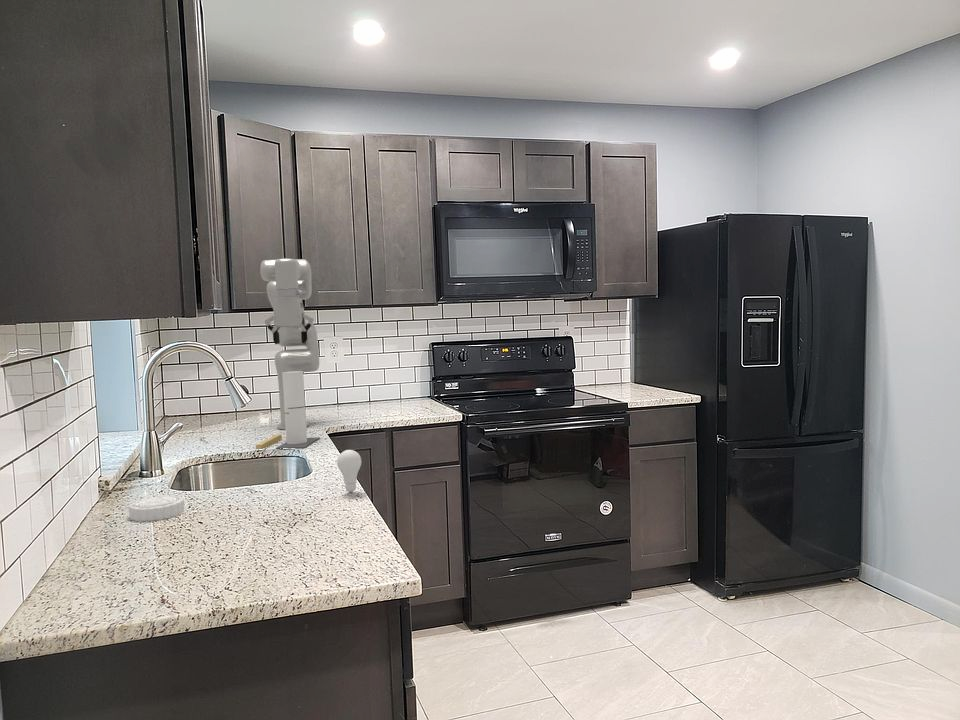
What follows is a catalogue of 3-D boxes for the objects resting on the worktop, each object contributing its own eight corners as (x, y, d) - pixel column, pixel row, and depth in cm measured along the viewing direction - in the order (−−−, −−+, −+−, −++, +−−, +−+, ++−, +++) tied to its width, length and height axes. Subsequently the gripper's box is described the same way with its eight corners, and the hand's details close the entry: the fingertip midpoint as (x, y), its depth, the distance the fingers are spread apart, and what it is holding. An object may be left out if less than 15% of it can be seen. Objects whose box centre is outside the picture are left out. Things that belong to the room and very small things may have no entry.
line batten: (276, 439, 268) (276, 434, 268) (281, 439, 268) (281, 434, 268) (256, 450, 248) (255, 445, 248) (261, 450, 248) (261, 444, 248)
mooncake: (121, 516, 173) (120, 501, 173) (171, 505, 182) (170, 491, 181) (142, 525, 165) (140, 509, 164) (193, 513, 173) (192, 498, 173)
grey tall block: (301, 444, 253) (297, 372, 252) (282, 444, 255) (278, 373, 253) (310, 440, 260) (306, 370, 259) (292, 440, 262) (287, 371, 260)
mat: (293, 439, 267) (292, 438, 267) (319, 439, 266) (319, 437, 266) (275, 449, 249) (275, 447, 249) (304, 448, 248) (304, 447, 248)
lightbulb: (335, 495, 183) (332, 452, 182) (343, 489, 189) (340, 447, 188) (359, 495, 182) (356, 452, 181) (366, 489, 188) (363, 447, 187)
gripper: (315, 293, 257) (317, 341, 258) (267, 295, 258) (270, 343, 260) (308, 293, 249) (311, 343, 251) (259, 295, 251) (262, 345, 252)
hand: (290, 343), depth 255 cm, fingers open, 9 cm apart
